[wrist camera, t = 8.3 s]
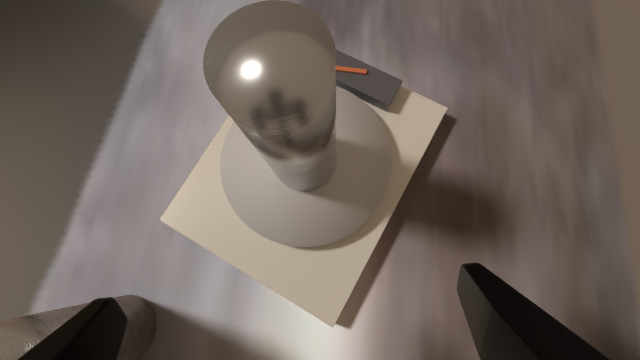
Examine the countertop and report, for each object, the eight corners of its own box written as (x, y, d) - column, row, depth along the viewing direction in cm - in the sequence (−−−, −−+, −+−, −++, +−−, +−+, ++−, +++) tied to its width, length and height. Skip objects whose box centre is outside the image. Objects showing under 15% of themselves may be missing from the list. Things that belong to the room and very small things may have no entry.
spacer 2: (332, 194, 20) (328, 124, 9) (269, 188, 20) (191, 112, 9) (339, 134, 20) (342, 4, 10) (278, 129, 21) (216, -4, 10)
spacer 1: (131, 374, 20) (-110, 518, 9) (83, 339, 20) (-196, 435, 10) (168, 315, 20) (-17, 384, 10) (120, 283, 21) (-102, 315, 10)
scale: (333, 323, 20) (332, 332, 18) (169, 221, 22) (149, 218, 20) (441, 115, 23) (453, 99, 20) (287, 41, 25) (282, 20, 22)
